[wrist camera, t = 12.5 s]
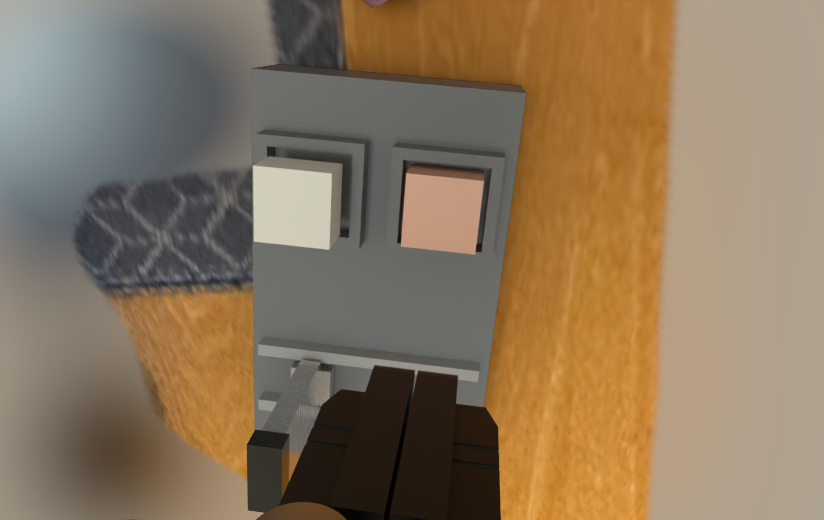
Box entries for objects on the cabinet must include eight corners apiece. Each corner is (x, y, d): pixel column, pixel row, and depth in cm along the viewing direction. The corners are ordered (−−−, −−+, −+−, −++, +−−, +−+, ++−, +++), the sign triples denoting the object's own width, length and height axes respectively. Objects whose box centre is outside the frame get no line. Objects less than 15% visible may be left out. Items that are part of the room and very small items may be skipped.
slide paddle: (296, 347, 32) (239, 443, 25) (335, 352, 32) (289, 450, 24) (295, 401, 33) (240, 509, 26) (333, 406, 33) (288, 516, 26)
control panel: (278, 64, 31) (241, 70, 26) (521, 85, 30) (528, 95, 26) (277, 407, 38) (247, 462, 33) (474, 433, 37) (473, 493, 33)
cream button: (268, 156, 27) (253, 165, 25) (342, 163, 27) (331, 173, 25) (269, 227, 28) (253, 241, 26) (339, 235, 28) (329, 249, 26)
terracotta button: (411, 163, 28) (406, 173, 26) (483, 170, 28) (484, 181, 26) (406, 232, 29) (400, 246, 27) (475, 240, 29) (475, 254, 27)
